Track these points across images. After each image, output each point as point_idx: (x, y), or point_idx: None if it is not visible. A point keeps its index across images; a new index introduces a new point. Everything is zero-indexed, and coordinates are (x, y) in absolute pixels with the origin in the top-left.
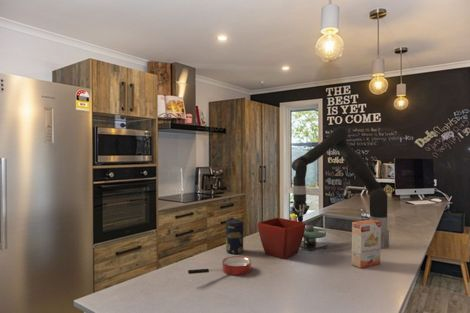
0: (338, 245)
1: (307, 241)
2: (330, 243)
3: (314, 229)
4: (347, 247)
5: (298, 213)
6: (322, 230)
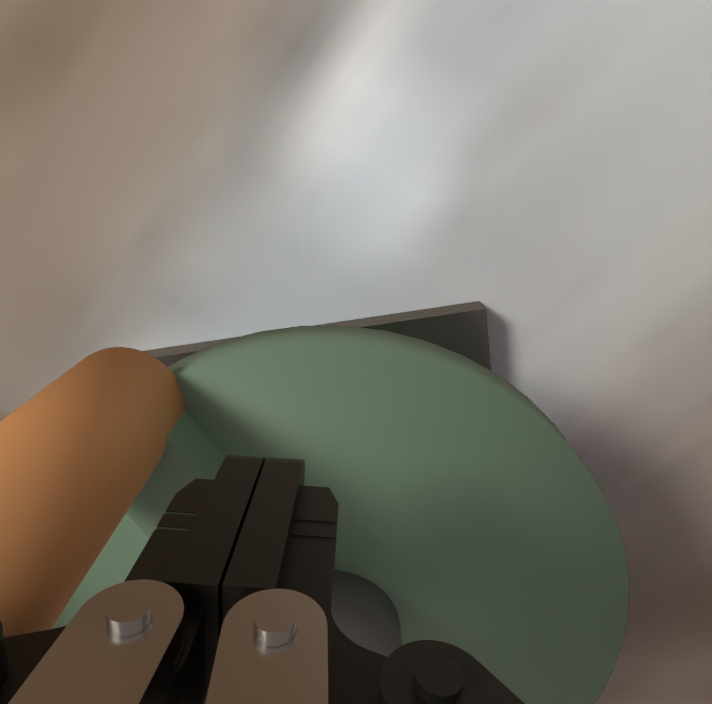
0: (657, 600)
1: None
2: (652, 509)
3: (491, 594)
4: (669, 681)
5: (121, 700)
6: (557, 697)
